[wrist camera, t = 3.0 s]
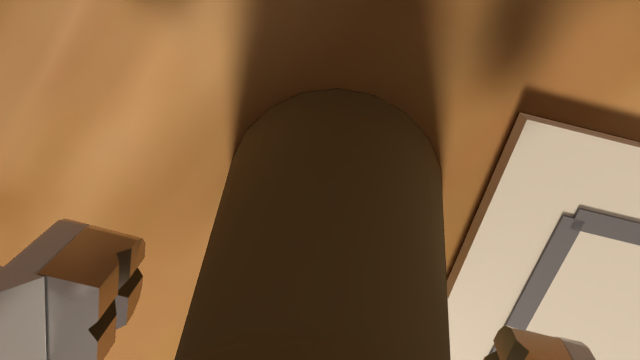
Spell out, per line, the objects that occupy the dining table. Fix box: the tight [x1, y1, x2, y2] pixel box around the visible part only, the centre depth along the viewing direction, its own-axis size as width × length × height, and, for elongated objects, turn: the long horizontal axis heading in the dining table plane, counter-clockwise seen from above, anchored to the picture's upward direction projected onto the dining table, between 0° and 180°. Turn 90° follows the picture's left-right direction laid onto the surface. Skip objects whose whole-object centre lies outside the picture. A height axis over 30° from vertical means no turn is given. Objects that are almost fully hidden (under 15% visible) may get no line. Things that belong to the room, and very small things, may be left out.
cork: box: [175, 89, 451, 360], centre depth 9 cm, size 6×6×11 cm
